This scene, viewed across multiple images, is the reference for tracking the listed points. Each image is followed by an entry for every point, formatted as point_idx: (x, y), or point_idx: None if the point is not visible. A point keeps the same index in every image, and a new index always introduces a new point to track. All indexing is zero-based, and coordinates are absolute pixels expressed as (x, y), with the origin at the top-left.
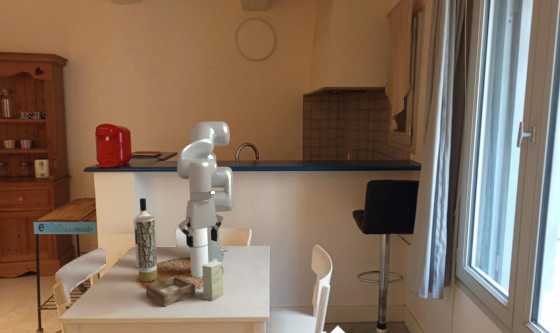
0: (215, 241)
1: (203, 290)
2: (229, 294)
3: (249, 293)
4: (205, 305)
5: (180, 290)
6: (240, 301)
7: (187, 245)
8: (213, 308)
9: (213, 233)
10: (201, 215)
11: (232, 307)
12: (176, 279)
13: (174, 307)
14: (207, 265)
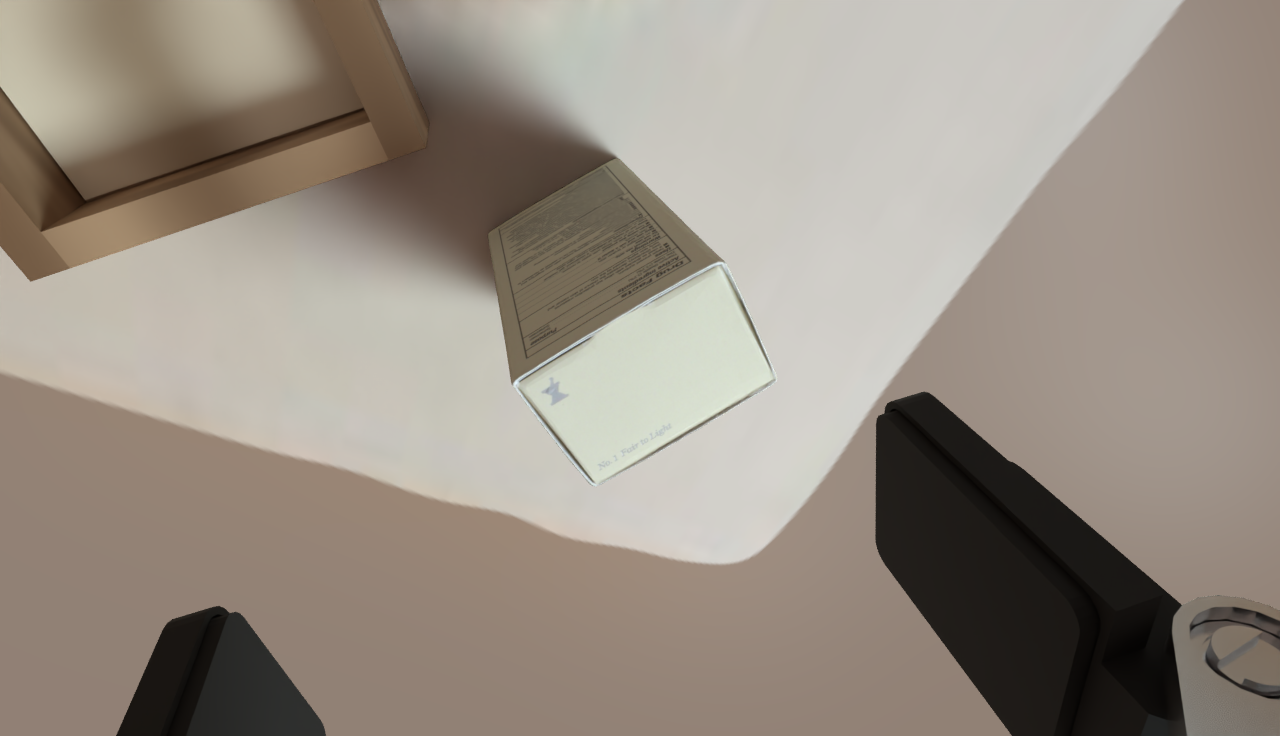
0: (883, 533)
1: (492, 260)
2: None
3: (831, 312)
4: (469, 358)
5: (239, 207)
6: None
7: (180, 622)
8: (512, 421)
9: (993, 649)
10: None
11: None
12: None
13: (196, 287)
14: (574, 410)
